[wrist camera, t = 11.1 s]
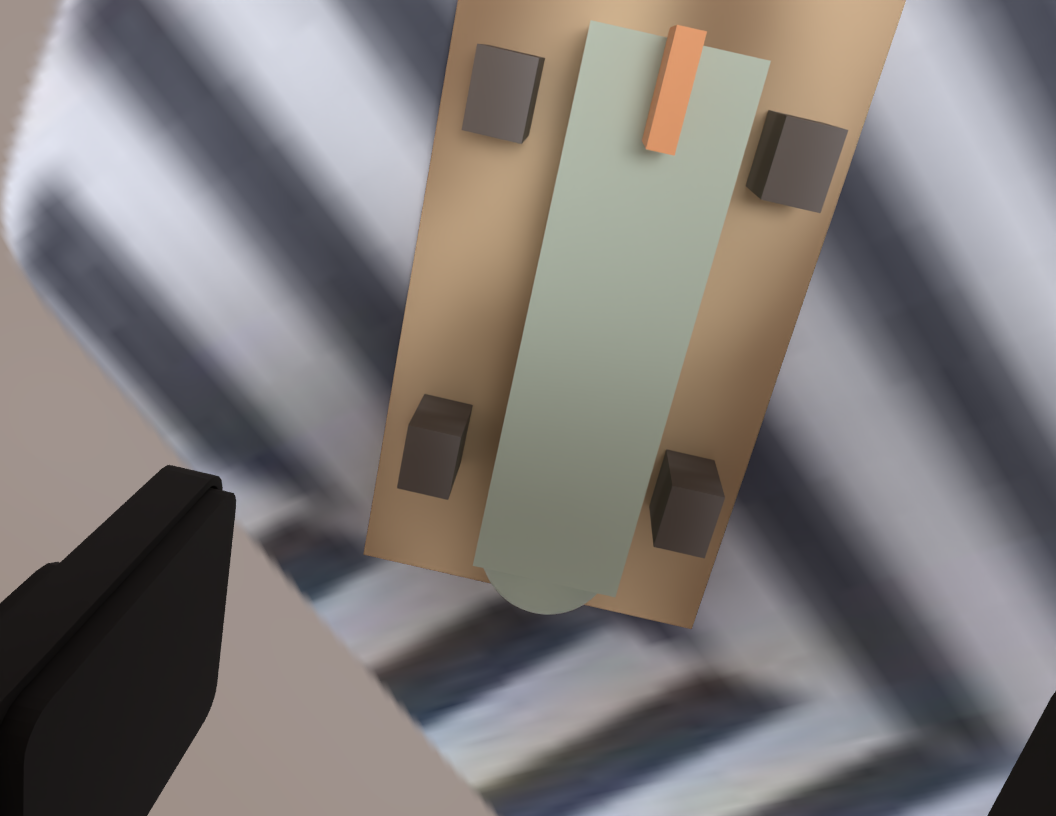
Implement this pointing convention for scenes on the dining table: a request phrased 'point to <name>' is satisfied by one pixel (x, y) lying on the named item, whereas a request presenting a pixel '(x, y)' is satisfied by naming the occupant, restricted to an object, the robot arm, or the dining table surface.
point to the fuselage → (613, 307)
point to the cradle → (514, 249)
